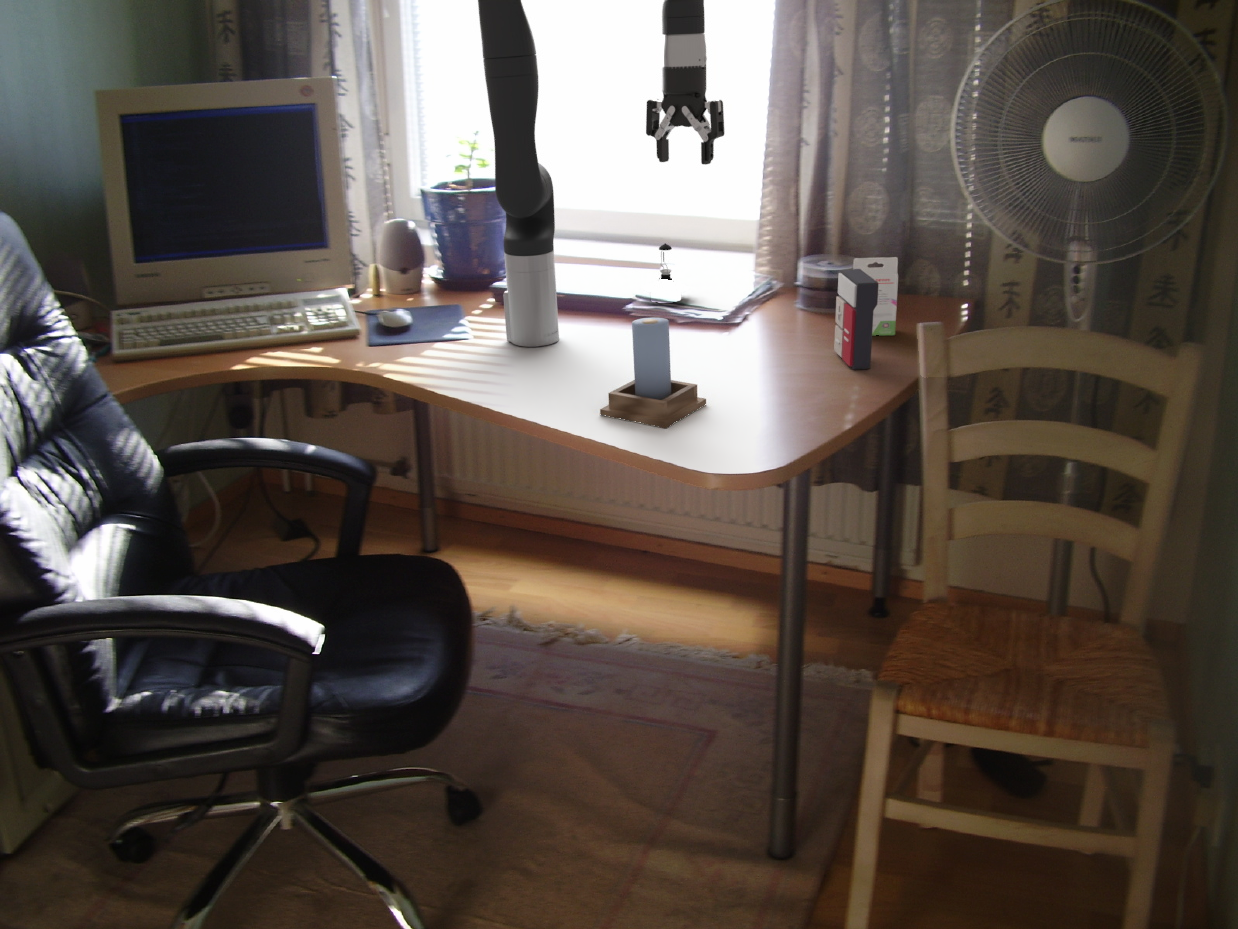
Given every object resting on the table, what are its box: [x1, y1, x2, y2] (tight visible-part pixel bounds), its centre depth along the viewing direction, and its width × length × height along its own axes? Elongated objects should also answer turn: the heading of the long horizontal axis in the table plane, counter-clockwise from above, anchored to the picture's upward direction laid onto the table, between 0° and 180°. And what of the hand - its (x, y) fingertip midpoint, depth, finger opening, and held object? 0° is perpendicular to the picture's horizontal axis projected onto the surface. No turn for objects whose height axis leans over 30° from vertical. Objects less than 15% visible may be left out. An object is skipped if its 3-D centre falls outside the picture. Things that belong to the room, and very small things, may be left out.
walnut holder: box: [599, 379, 707, 429], centre depth 168 cm, size 12×12×4 cm
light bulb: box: [658, 243, 673, 280], centre depth 230 cm, size 12×10×10 cm
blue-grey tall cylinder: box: [631, 317, 672, 400], centre depth 166 cm, size 6×6×13 cm
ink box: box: [852, 256, 899, 337], centre depth 201 cm, size 9×5×15 cm, turn 84°
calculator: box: [833, 268, 878, 371], centre depth 186 cm, size 11×4×15 cm, turn 5°
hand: (685, 162), depth 187 cm, fingers open, 8 cm apart
